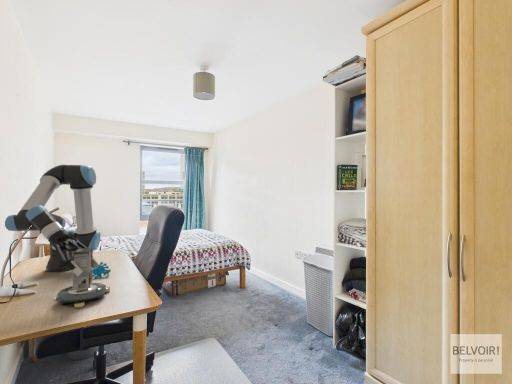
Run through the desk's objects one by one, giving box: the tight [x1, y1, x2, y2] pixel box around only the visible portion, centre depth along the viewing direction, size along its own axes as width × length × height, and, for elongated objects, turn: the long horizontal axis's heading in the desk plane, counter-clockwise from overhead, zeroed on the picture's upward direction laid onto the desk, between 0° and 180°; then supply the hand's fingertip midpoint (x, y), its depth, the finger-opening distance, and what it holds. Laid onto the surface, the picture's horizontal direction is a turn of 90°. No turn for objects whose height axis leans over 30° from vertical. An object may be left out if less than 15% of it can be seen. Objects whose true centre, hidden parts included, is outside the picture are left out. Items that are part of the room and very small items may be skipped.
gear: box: [92, 261, 112, 280], centre depth 151 cm, size 11×6×10 cm
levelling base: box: [55, 282, 111, 310], centre depth 119 cm, size 21×21×5 cm
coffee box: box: [72, 248, 94, 290], centre depth 119 cm, size 9×6×16 cm
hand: (89, 270), depth 119 cm, fingers closed on coffee box, 10 cm apart
